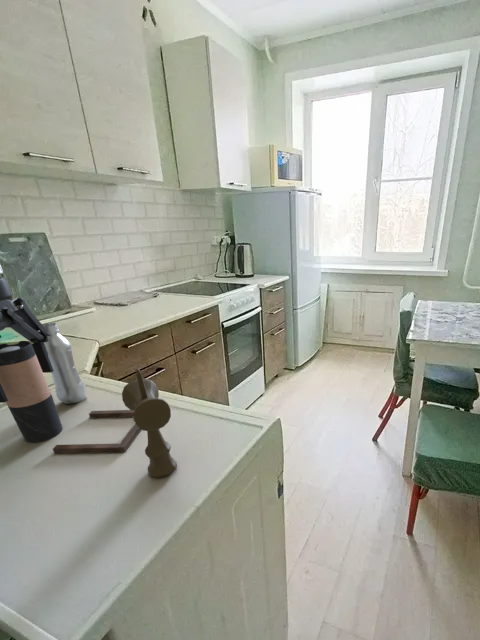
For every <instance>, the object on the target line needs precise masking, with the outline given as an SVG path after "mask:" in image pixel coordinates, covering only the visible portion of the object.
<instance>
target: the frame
mask: <svg viewBox="0 0 480 640" xmlns="http://www.w3.org/2000/svg"><path fill="white" fill-rule="evenodd" d="M88 415H89V418H90V419H103V418H104V419H108V418H134V410H130V409H115V410H111V409H110V410H91V411H90V412H89V413H88ZM141 431H142V429H140V428H139V427H138V426H137V425H136V423H135V422H134V425H132V427H131V428H130V430H129V431H128V432H127V433H126V435H125V436H124V438H122V440H121V442H119V443H116V442H115V443H80V444H79V443H78V444H74V443H73V444H56V445H55V446H54V447H53V448H52V453H54V454H55V455H56V454H59V455H61V454H97V453H98V454H99V453H100V454H101V453H102V454H103V453H104V454H105V453H107V454H108V453H126V452H127V450H128V449H129V447H130V446H131V445H132V443H133V442H134V441H135V439H136V438H137V436H138V435H139V434H140V433H141Z"/></svg>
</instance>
